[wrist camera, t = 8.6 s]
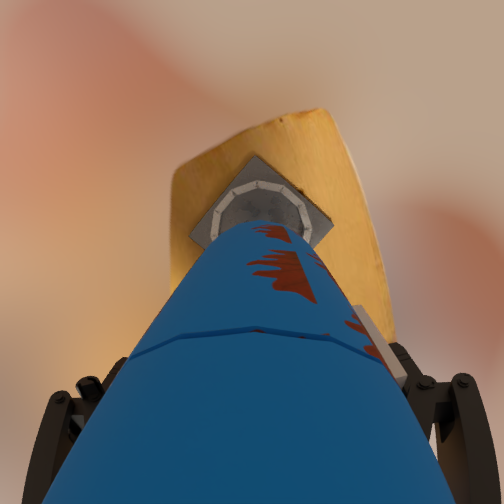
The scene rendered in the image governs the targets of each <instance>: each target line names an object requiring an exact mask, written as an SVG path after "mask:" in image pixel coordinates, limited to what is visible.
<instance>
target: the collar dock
mask: <svg viewBox="0 0 504 504" xmlns="http://www.w3.org/2000/svg"><path fill="white" fill-rule="evenodd" d="M256 220H264V221H269V222H275V223H280V224H283V225H284V226H286V227H288V228H289V229H291V230H293V231H294V232H296V233H298V234H299V235H301V237H302V238H303V239H304V240H305V241H306V242H307V243H308V244H309V245H310V246H311V247H312V249H314V247H315V246H316V245H317V244H318V243H319V242H320V241H321V240H322V239H323V238H324V236H325V235H326V234H327V233H328V232H329V231H330V230H331V229H332V228H333V226H334V224H333V223H332V222H330V221H329V220H328V219H327V218H326V217H325V216H324V215H323V214H322V213H321V212H320V211H319V210H318V209H317V208H315V207H314V206H313V205H312V204H311V203H310V202H309V201H308V200H307V199H306V198H304V197H303V196H302V195H301V194H300V193H299V192H298V191H297V190H295V189H294V188H293V187H292V186H291V185H290V184H289V183H287V182H286V181H285V180H284V179H283V178H282V177H281V176H279V175H278V174H277V173H276V172H275V171H273V170H272V169H271V168H270V167H269V166H268V165H266V164H265V163H264V162H263V161H262V160H260V159H259V158H258V157H257V156H255V155H254V157H253V158H252V159H251V160H250V161H249V162H248V164H247V165H246V166H245V167H244V168H243V169H242V171H241V172H240V173H239V174H238V175H237V176H236V178H235V179H234V180H233V181H232V182H231V184H230V185H229V186H228V187H227V188H226V190H225V191H224V192H223V193H222V195H221V196H220V197H219V198H218V199H217V201H216V202H215V203H214V204H213V206H212V207H211V208H210V209H209V211H208V212H207V213H206V214H205V216H204V217H203V218H202V219H201V221H200V222H199V223H198V225H197V226H196V227H195V228H194V230H193V231H192V232H191V234H190V235H189V237H190V238H191V239H192V240H194V241H195V242H196V243H197V244H199V245H200V246H201V247H202V248H203V249H205V250H206V248H207V247H208V246H209V245H210V244H211V242H213V241H214V240H215V239H216V238H217V237H218V236H219V235H220V234H222V233H223V232H225V231H227V230H228V229H230V228H232V227H234V226H235V225H237V224H239V223H245V222H251V221H256Z"/></svg>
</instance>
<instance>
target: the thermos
mask: <svg viewBox="0 0 504 504" xmlns="http://www.w3.org/2000/svg"><path fill="white" fill-rule="evenodd" d="M42 504H456V503H455V500H454V498H453V495H452V493H451V491H450V488H449V486H448V484H447V481H446V479H445V477H444V474H443V472H442V470H441V468H440V465H439V463H438V461H437V459H436V457H435V455H434V453H433V451H432V448H431V446H430V444H429V442H428V440H427V438H426V436H425V434H424V432H423V430H422V428H421V426H420V424H419V422H418V420H417V418H416V416H415V414H414V412H413V411H412V409H411V407H410V405H409V403H408V401H407V399H406V397H405V396H404V394H403V392H402V391H401V388H400V387H399V385H398V383H397V381H396V379H395V378H394V376H393V374H392V372H391V370H390V369H389V367H388V365H387V363H386V362H385V360H384V358H383V357H382V355H381V353H380V351H379V350H378V348H377V346H376V345H375V343H374V341H373V340H372V338H371V336H370V335H369V333H368V331H367V330H366V328H365V327H364V325H363V323H362V322H361V320H360V318H359V317H358V315H357V314H356V312H355V310H354V309H353V307H352V306H351V304H350V303H349V301H348V299H347V298H346V296H345V295H344V293H343V292H342V290H341V289H340V287H339V285H338V284H337V282H336V281H335V279H334V278H333V276H332V275H331V273H330V272H329V270H328V269H327V267H326V266H325V264H324V263H323V262H322V260H321V259H320V258H319V256H318V255H317V254H316V253H315V251H314V250H313V249H312V247H311V246H310V245H309V244H308V243H307V242H306V241H305V240H304V239H303V238H302V237H301V235H299V234H298V233H296V232H294V231H293V230H291V229H289V228H288V227H286V226H284V225H283V224H280V223H275V222H269V221H264V220H256V221H251V222H245V223H239V224H237V225H235V226H234V227H232V228H230V229H228V230H227V231H225V232H223V233H222V234H220V235H219V236H218V237H217V238H216V239H215V240H214V241H213V242H211V244H210V245H209V246H208V247H207V248H206V250H205V251H204V252H203V253H202V255H201V256H200V257H199V258H198V260H197V261H196V262H195V264H194V265H193V266H192V268H191V269H190V270H189V272H188V273H187V275H186V276H185V277H184V279H183V280H182V281H181V283H180V284H179V286H178V287H177V288H176V290H175V291H174V292H173V294H172V295H171V297H170V298H169V300H168V301H167V302H166V304H165V305H164V307H163V308H162V309H161V311H160V312H159V314H158V315H157V317H156V318H155V319H154V321H153V322H152V324H151V325H150V327H149V328H148V329H147V331H146V332H145V334H144V335H143V337H142V338H141V340H140V341H139V343H138V344H137V346H136V347H135V348H134V350H133V351H132V353H131V354H130V356H129V357H128V359H127V360H126V362H125V363H124V365H123V367H122V368H121V370H120V371H119V373H118V374H117V376H116V377H115V379H114V380H113V382H112V383H111V385H110V387H109V388H108V390H107V391H106V393H105V394H104V396H103V398H102V399H101V401H100V402H99V404H98V405H97V407H96V409H95V410H94V412H93V414H92V415H91V417H90V418H89V420H88V422H87V423H86V425H85V427H84V428H83V430H82V432H81V433H80V435H79V437H78V438H77V440H76V442H75V444H74V445H73V447H72V449H71V450H70V452H69V454H68V456H67V457H66V459H65V461H64V463H63V464H62V466H61V468H60V470H59V472H58V474H57V475H56V477H55V479H54V481H53V483H52V485H51V486H50V488H49V490H48V492H47V494H46V496H45V498H44V500H43V502H42Z"/></svg>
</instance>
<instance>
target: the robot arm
mask: <svg viewBox="0 0 504 504" xmlns="http://www.w3.org/2000/svg"><path fill="white" fill-rule="evenodd" d="M352 307H353V309H354V310H355V312H356V314H357V315H358V317H359V318H360V320H361V322H362V323H363V325H364V327H365V328H366V330H367V331H368V333H369V335H370V336H371V338H372V340H373V341H374V343H375V345H376V346H377V348H378V350H379V351H380V353H381V355H382V357H383V358H384V360H385V362H386V363H387V365H388V367H389V369H390V370H391V372H392V374H393V376H394V378H395V379H396V381H397V383H398V385H399V387H400V388H401V391H402V392H403V394H404V396H405V397H406V399H407V401H408V403H409V405H410V407H411V409H412V411H413V412H414V414H415V416H416V418H417V420H418V422H419V424H420V426H421V428H422V430H423V432H424V434H425V436H426V438H427V440H428V442H429V439H430V435H431V428H432V424H433V423H435V432H436V443H437V457H438V463H439V465H440V468H441V470H442V472H443V474H444V477H445V479H446V481H447V484H448V486H449V488H450V491H451V493H452V495H453V498H454V500H455V503H456V504H501V492H500V481H499V473H498V467H497V461H496V455H495V449H494V444H493V440H492V436H491V431H490V427H489V423H488V420H487V416H486V412H485V409H484V406H483V402H482V399H481V396H480V393H479V390H478V387H477V384H476V381H475V380H474V378H473V377H472V376H471V375H469V374H466V373H459V374H456V375H455V376H454V377H453V379H452V381H451V382H442V383H437V382H436V380H435V379H434V378H432V377H431V376H427V375H423V374H422V373H421V371H420V370H419V368H418V367H417V365H416V364H415V362H414V361H413V359H411V357H410V355H409V354H408V353H407V351H406V350H405V348H404V347H403V346H401V345H400V344H398V343H397V342H396V343H391V344H387V342H386V341H385V339H384V338H383V336H382V335H381V333H380V332H379V330H378V329H377V327H376V326H375V324H374V323H373V321H372V320H371V318H370V317H369V315H368V314H367V312H366V311H365V310H364V308H363V307H362V305H355V306H352ZM153 321H154V320H153ZM151 324H152V323H151ZM149 327H150V326H149ZM142 337H143V336H142ZM140 340H141V339H140ZM138 343H139V342H138ZM136 346H137V345H136ZM127 359H128V358H127V357H123V358H121V359H120V360H119V361H118V362H116V363H115V365H114V366H113V368H112V369H111V371H110V372H109V374H108V375H107V377H106V378H105V379H104V381H103V383H102V384H101V383H100V381H99V379H98V378H97V377H94V376H87V377H84V378H82V379H80V380H79V381H78V382H77V384H76V389H77V391H78V393H79V394H80V396H81V398H72V397H71V396H70V394H69V393H68V392H67V391H63V390H62V391H57V392H55V393H54V394H53V395H52V396H51V397H50V399H49V402H48V405H47V407H46V410H45V413H44V416H43V419H42V422H41V425H40V428H39V431H38V435H37V437H36V441H35V444H34V448H33V452H32V455H31V459H30V463H29V467H28V472H27V476H26V482H25V486H24V492H23V498H22V504H42V502H43V500H44V498H45V496H46V494H47V492H48V490H49V488H50V486H51V485H52V483H53V481H54V479H55V477H56V475H57V474H58V472H59V470H60V468H61V466H62V464H63V463H64V461H65V459H66V457H67V456H68V454H69V452H70V450H71V449H72V447H73V445H74V444H75V442H76V440H77V438H78V437H79V435H80V433H81V432H82V430H83V428H84V427H85V425H86V423H87V422H88V420H89V418H90V417H91V415H92V414H93V412H94V410H95V409H96V407H97V405H98V404H99V402H100V401H101V399H102V398H103V396H104V394H105V393H106V391H107V390H108V388H109V387H110V385H111V383H112V382H113V380H114V379H115V377H116V376H117V374H118V373H119V371H120V370H121V368H122V367H123V365H124V363H125V362H126V360H127Z"/></svg>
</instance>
